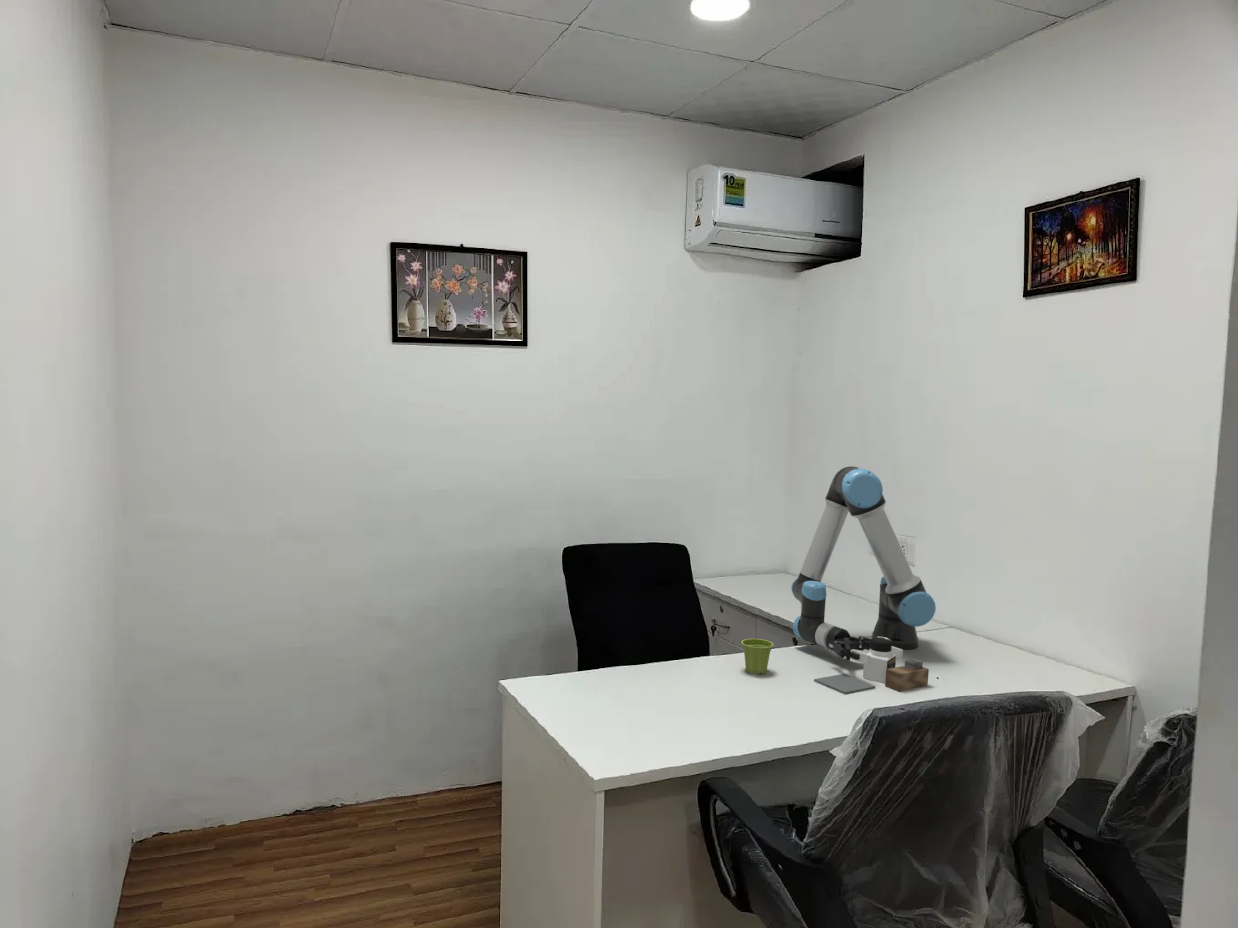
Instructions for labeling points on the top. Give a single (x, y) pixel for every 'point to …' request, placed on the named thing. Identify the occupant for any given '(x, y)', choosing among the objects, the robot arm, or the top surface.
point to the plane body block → (907, 676)
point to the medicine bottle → (879, 659)
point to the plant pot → (756, 655)
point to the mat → (844, 683)
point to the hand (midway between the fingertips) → (886, 657)
